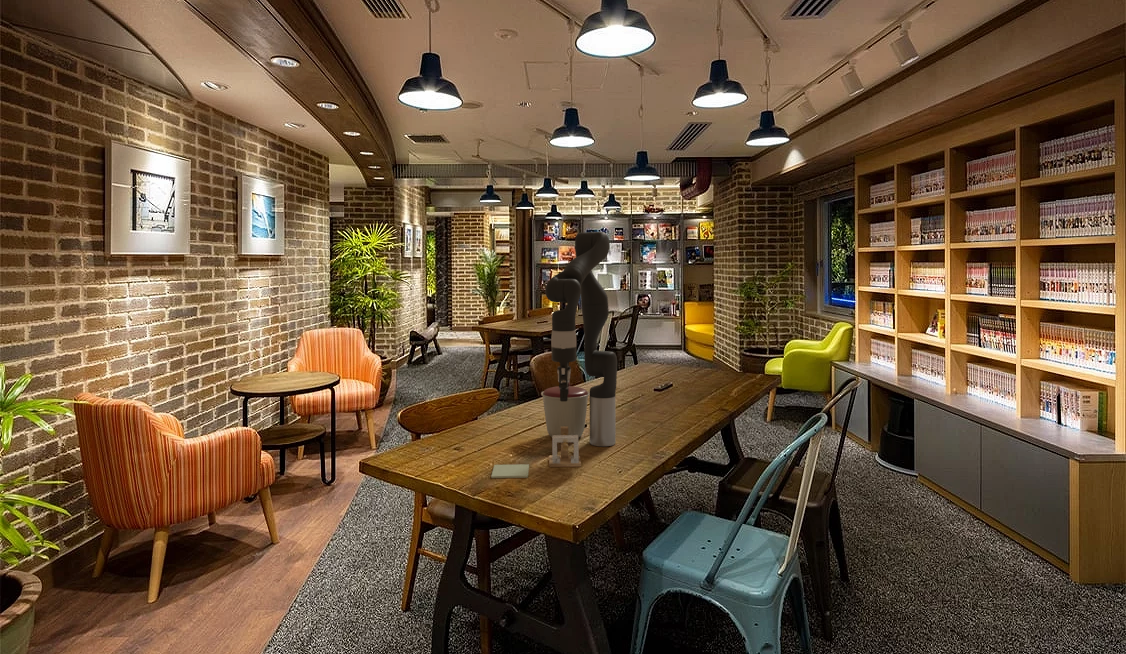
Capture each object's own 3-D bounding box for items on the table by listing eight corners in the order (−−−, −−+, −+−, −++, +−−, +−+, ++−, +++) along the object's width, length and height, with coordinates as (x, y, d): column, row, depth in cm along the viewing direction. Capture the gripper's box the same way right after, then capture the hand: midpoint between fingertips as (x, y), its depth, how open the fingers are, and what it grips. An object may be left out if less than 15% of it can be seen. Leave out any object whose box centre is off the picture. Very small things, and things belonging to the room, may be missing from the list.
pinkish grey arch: (552, 460, 199) (552, 435, 199) (578, 460, 199) (578, 435, 199) (552, 463, 196) (552, 438, 196) (578, 463, 196) (578, 437, 196)
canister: (590, 443, 229) (590, 385, 227) (540, 443, 230) (539, 385, 228) (589, 430, 247) (589, 376, 245) (542, 430, 248) (542, 376, 246)
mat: (494, 466, 203) (494, 464, 203) (529, 466, 203) (529, 464, 203) (491, 478, 192) (491, 476, 192) (527, 477, 192) (527, 475, 192)
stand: (549, 458, 212) (549, 425, 210) (579, 457, 212) (579, 425, 211) (549, 477, 193) (549, 441, 192) (582, 476, 193) (582, 441, 192)
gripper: (552, 342, 200) (553, 393, 201) (550, 348, 186) (550, 403, 187) (576, 342, 199) (577, 393, 201) (575, 348, 185) (576, 403, 187)
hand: (564, 398), depth 194 cm, fingers open, 8 cm apart
